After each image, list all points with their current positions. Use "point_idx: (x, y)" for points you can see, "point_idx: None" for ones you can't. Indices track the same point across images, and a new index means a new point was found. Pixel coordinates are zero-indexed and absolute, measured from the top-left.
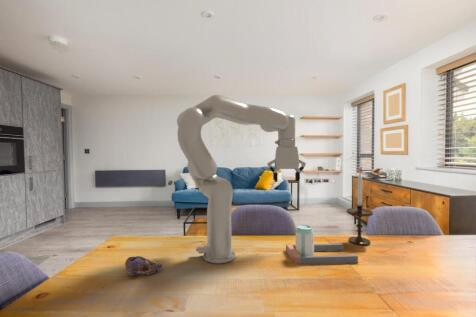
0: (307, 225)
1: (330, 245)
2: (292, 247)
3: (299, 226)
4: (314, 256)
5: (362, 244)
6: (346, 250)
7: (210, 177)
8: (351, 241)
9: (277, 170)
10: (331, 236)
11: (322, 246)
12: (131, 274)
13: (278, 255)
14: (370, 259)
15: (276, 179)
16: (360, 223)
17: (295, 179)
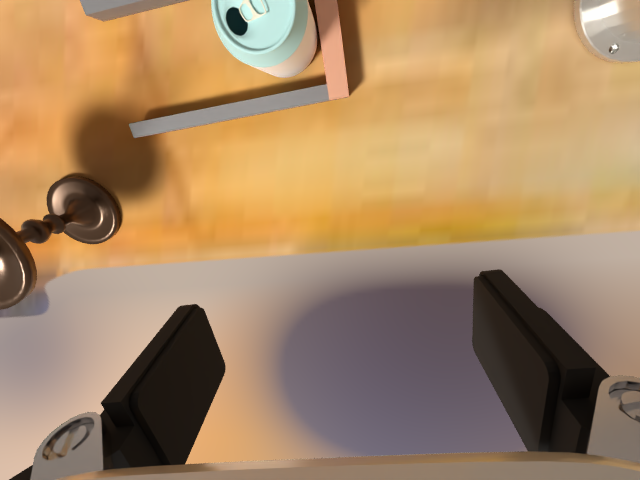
0: (236, 44)
1: (176, 114)
2: (327, 49)
3: (282, 31)
4: None
5: (74, 177)
6: None
7: None
8: (107, 198)
9: (597, 439)
10: (174, 255)
11: (207, 108)
12: None
13: (384, 40)
14: (55, 46)
15: (506, 287)
16: (20, 231)
17: (218, 377)
